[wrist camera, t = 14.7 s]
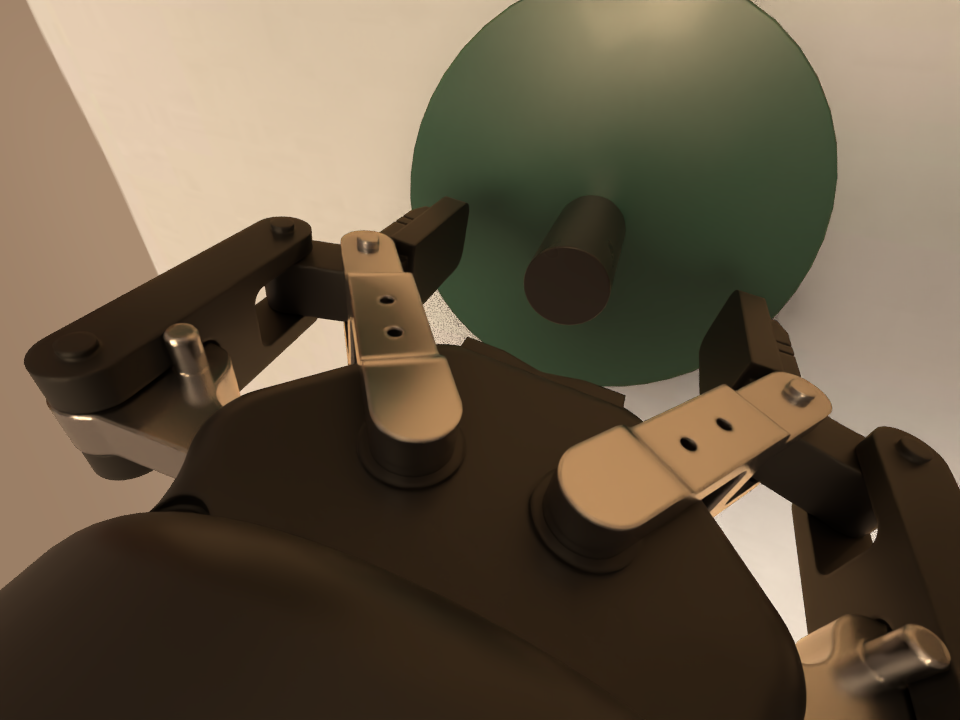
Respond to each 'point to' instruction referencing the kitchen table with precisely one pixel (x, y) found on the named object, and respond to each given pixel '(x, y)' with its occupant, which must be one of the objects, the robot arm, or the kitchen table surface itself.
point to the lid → (626, 178)
